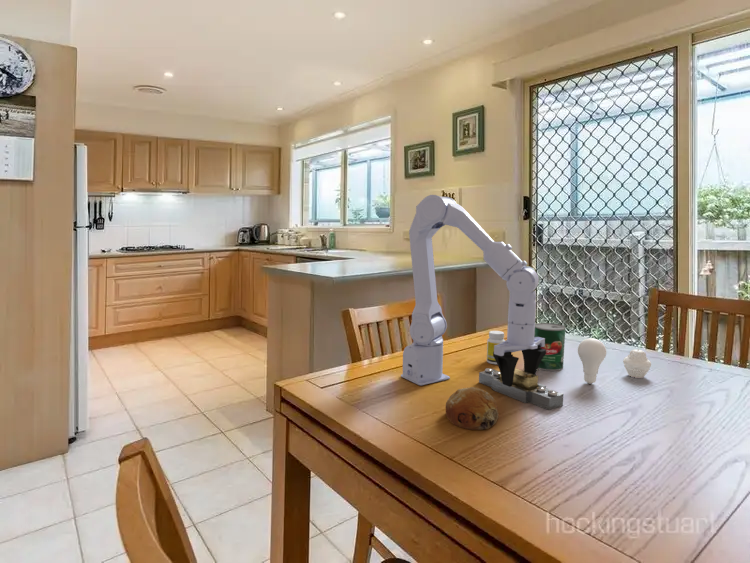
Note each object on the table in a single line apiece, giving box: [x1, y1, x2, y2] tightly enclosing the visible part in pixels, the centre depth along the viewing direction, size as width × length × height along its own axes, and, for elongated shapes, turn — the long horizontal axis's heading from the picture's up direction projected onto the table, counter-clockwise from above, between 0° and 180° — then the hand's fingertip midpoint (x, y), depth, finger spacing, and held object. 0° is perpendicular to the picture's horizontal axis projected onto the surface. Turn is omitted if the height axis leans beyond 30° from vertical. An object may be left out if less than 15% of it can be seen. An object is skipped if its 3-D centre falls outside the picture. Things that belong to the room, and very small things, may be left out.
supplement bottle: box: [486, 330, 506, 365], centre depth 125 cm, size 5×5×8 cm
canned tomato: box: [534, 322, 567, 372], centre depth 122 cm, size 8×8×11 cm
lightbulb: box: [577, 337, 607, 385], centre depth 109 cm, size 6×6×11 cm
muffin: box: [622, 348, 652, 379], centre depth 114 cm, size 6×6×7 cm
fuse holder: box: [478, 367, 564, 411], centre depth 103 cm, size 7×20×3 cm, turn 33°
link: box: [500, 367, 539, 391], centre depth 103 cm, size 3×8×5 cm, turn 33°
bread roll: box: [445, 387, 499, 431], centre depth 89 cm, size 10×10×8 cm
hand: (518, 381), depth 103 cm, fingers open, 7 cm apart
